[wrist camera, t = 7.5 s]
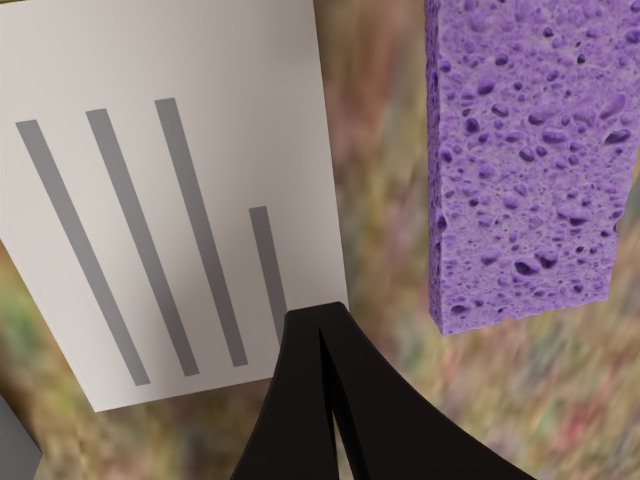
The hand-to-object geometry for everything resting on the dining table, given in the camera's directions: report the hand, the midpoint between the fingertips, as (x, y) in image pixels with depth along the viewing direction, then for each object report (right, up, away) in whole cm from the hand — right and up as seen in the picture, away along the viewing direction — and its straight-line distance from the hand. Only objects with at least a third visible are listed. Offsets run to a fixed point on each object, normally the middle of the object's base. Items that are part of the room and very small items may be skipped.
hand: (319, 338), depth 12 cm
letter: (-5, +3, +5) cm, 7 cm away
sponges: (+7, +6, +6) cm, 11 cm away
